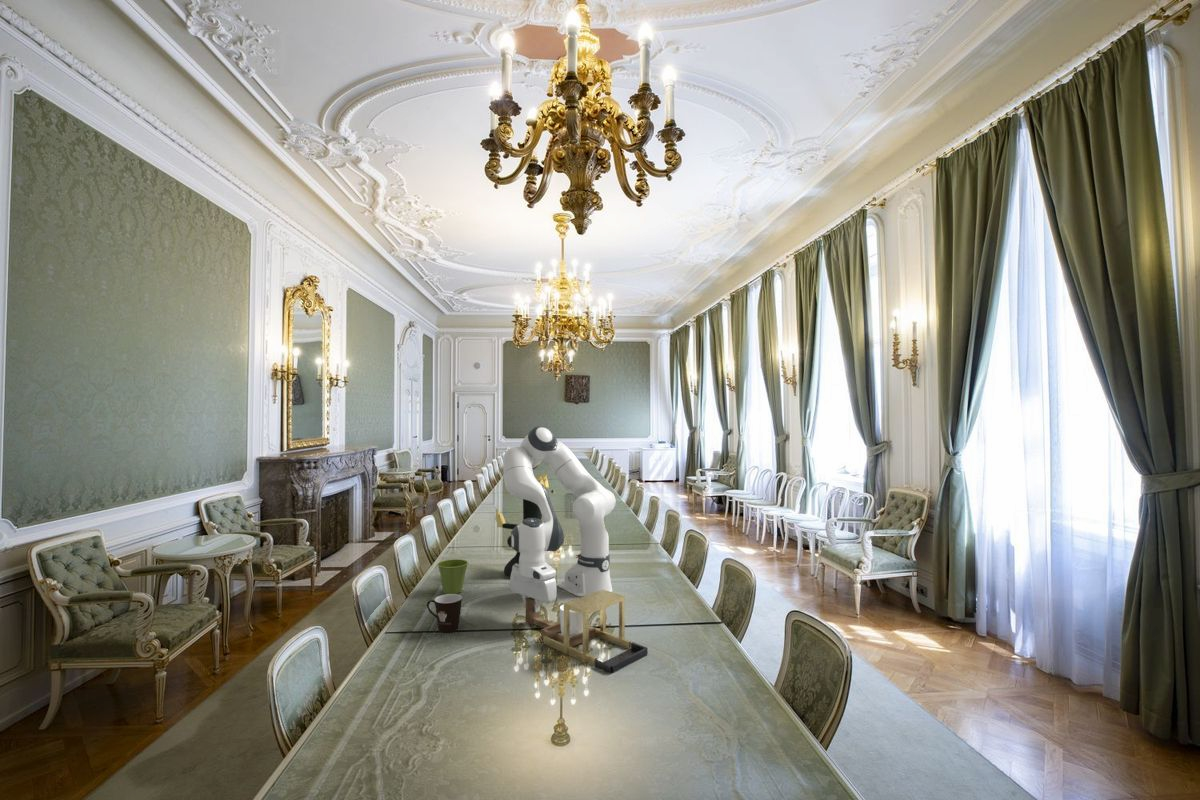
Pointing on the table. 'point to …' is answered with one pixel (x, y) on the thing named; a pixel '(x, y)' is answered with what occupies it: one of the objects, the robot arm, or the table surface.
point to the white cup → (572, 622)
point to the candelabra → (528, 512)
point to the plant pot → (452, 575)
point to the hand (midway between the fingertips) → (532, 609)
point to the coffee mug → (447, 612)
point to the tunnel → (598, 631)
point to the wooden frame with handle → (552, 626)
